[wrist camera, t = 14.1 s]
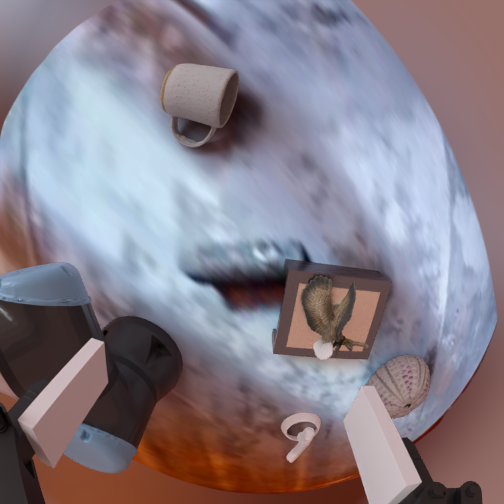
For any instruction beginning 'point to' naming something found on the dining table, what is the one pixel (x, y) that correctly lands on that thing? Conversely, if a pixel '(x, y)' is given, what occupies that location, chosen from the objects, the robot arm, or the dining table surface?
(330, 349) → the eagle figurine
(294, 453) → the vr controller
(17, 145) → the dining table surface
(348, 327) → the dark boxy piece
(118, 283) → the dining table surface
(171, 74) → the ceramic mug
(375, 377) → the sea urchin shell
